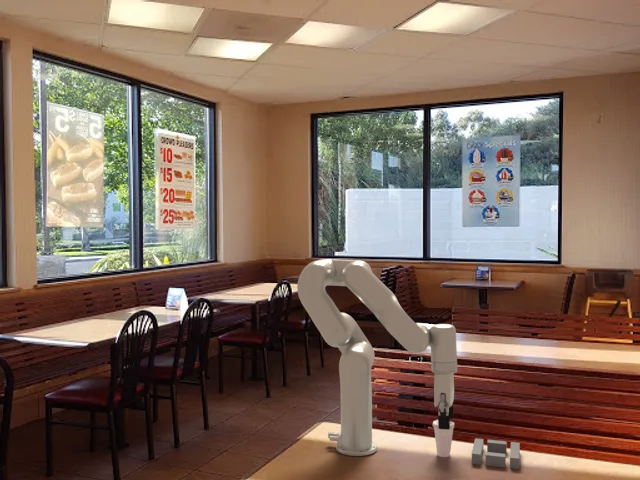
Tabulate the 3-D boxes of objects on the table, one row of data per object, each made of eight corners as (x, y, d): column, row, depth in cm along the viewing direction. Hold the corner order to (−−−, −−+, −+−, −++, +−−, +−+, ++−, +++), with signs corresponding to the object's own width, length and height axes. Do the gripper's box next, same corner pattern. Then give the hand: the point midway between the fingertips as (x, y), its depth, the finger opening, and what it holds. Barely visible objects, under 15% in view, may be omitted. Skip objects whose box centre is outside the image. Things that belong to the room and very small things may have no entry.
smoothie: (454, 459, 181) (454, 412, 180) (432, 458, 182) (432, 411, 182) (454, 451, 187) (454, 405, 187) (432, 450, 188) (432, 404, 188)
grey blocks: (471, 463, 177) (471, 453, 177) (475, 448, 190) (475, 438, 190) (519, 469, 173) (519, 458, 173) (519, 452, 186) (519, 442, 186)
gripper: (435, 359, 193) (437, 414, 193) (427, 372, 177) (429, 432, 177) (460, 360, 191) (461, 415, 191) (453, 373, 174) (456, 434, 175)
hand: (446, 423), depth 184 cm, fingers open, 9 cm apart
